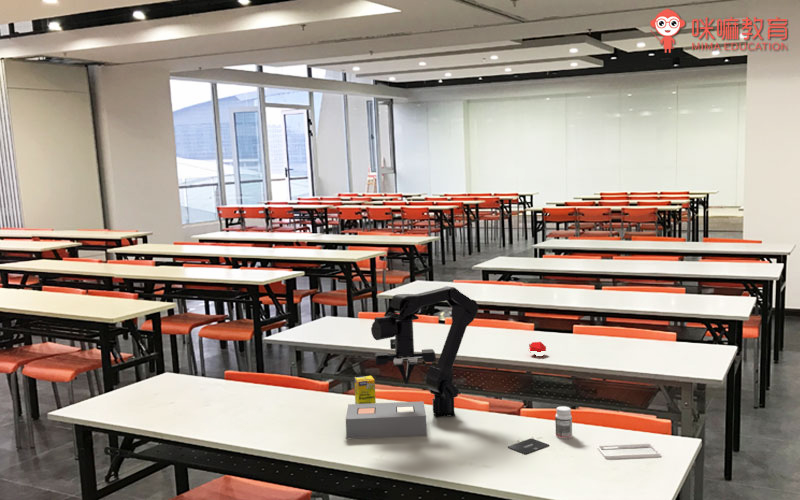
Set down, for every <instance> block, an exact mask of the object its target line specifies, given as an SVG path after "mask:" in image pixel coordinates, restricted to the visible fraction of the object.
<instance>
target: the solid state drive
mask: <svg viewBox="0 0 800 500" xmlns="http://www.w3.org/2000/svg"><path fill="white" fill-rule="evenodd" d="M548 447H550V444H549V443H546V442H543V441H541V440H538V439H535V438H528V439H525V440H522V441H518V442H517V443H514V444H511V445H508V446H507V448H508V449H509V450H512V451H515V452H517V453H520V454H522V455H525V456H527V455H529V454H531V453H534V452H537V451H539V450H543V449H545V448H548Z"/></svg>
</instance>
